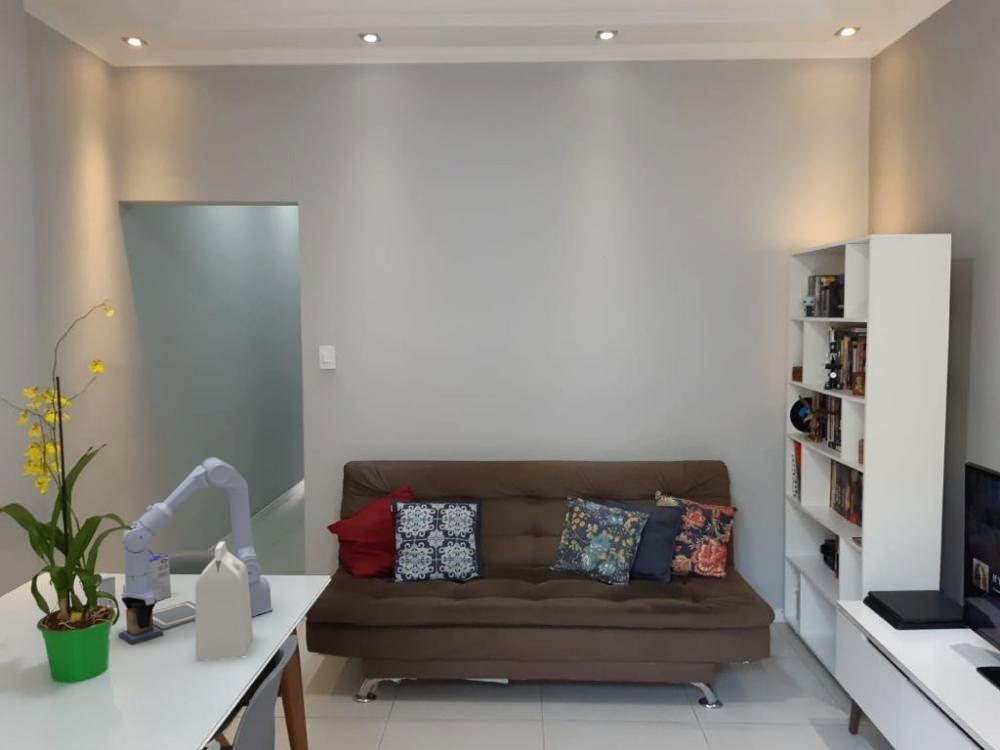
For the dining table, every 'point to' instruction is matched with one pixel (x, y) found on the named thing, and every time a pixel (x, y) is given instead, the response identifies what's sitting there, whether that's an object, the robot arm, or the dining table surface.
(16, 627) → the dining table surface
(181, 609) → the mat
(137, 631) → the stamp
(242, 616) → the milk
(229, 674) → the dining table surface
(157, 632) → the ink pad
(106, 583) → the skincare box
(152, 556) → the ink cartridge box
